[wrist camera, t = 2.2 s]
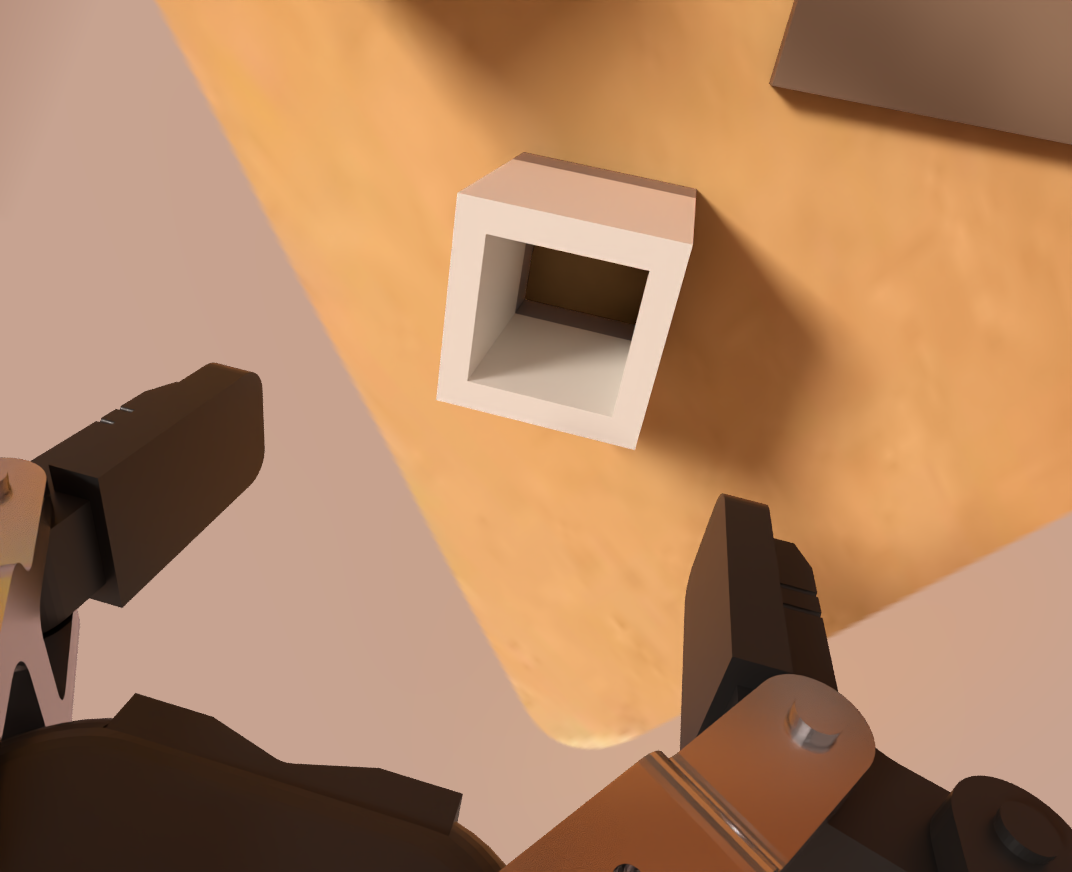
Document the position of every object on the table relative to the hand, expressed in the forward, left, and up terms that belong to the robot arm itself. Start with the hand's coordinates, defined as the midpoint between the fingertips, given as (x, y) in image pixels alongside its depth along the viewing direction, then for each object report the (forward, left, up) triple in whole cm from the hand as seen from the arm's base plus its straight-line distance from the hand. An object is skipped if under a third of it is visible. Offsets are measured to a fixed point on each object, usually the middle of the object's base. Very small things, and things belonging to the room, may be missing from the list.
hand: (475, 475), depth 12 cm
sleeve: (0, 0, -14) cm, 14 cm away
